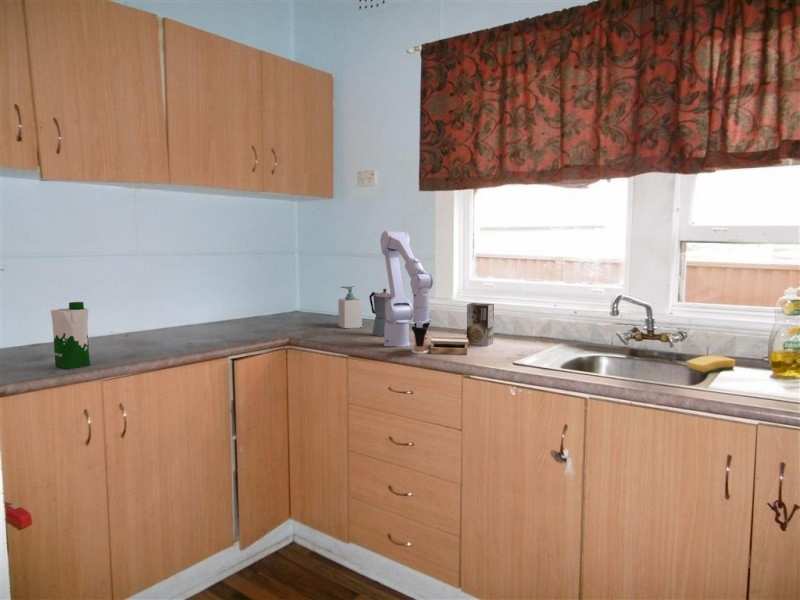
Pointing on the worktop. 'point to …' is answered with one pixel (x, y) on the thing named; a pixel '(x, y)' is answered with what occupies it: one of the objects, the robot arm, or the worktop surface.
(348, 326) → the soap bottle
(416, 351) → the saucer
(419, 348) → the pot
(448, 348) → the cold frame
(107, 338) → the worktop surface
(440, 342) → the lid
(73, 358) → the milk carton
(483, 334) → the coffee box
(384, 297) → the moka pot
